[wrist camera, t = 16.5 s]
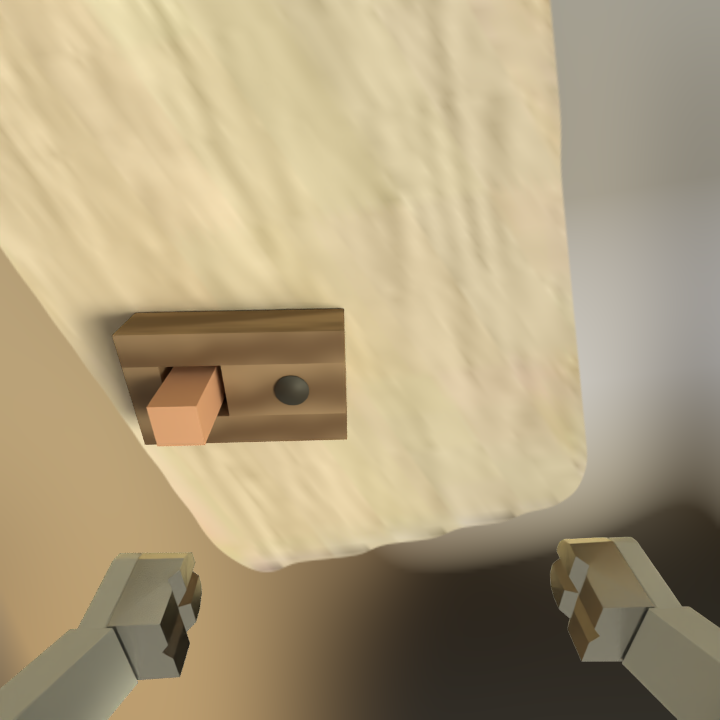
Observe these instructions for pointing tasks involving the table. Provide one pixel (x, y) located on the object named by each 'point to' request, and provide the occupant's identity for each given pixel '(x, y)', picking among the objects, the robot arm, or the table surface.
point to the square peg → (186, 405)
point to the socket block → (246, 369)
